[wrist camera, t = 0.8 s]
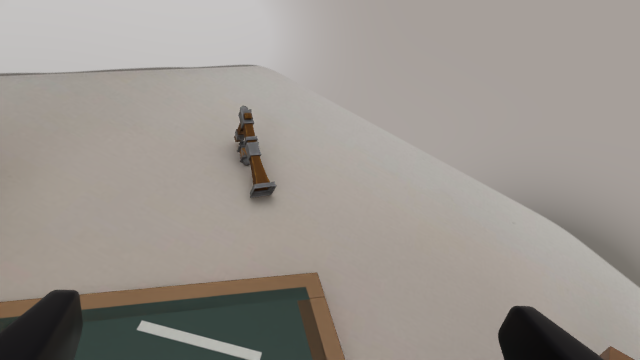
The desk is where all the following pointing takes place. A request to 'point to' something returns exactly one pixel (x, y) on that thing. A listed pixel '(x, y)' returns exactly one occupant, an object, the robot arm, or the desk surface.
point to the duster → (614, 355)
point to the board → (205, 321)
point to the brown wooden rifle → (252, 154)
